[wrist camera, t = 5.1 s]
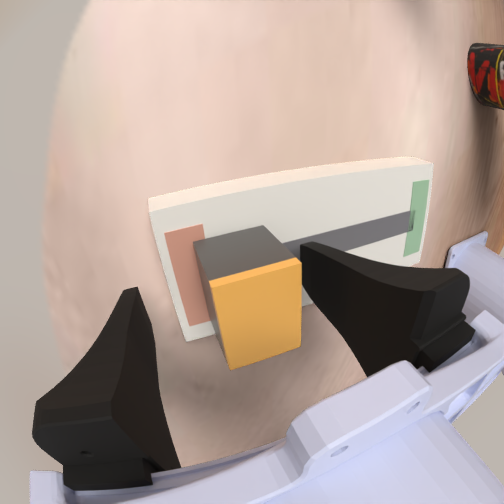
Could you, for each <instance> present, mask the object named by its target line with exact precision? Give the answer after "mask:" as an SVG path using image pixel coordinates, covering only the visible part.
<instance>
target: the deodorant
mask: <svg viewBox="0 0 504 504" xmlns="http://www.w3.org/2000/svg"><path fill="white" fill-rule="evenodd" d="M468 74H469V79H470V84H471V87H472V90H473V93H474V95H475V97H476V99H477V100H478V101H479V102H480V103H481V104H482V105H485V106H490V107H494V108H498V109H502V110H504V45H496V44H484V43H474V44H472V46H471V47H470V49H469V52H468Z"/></svg>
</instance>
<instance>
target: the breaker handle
mask: <svg viewBox="0 0 504 504" xmlns="http://www.w3.org/2000/svg"><path fill="white" fill-rule="evenodd" d="M193 246H194V250H195V255H196V260H197V265H198V269H199V274H200V278H201V283H202V287H203V292H204V296H205V300H206V305H207V309H208V313H209V317H210V320H211V323H212V325H213V328H214V331H215V333H216V336H217V339H218V341H219V344H220V346H221V349H222V351H223V354H224V356H225V359H226V361H227V364H228V366H229V369H230V370H233V369H236V368H240V367H243V366H246V365H249V364H252V363H255V362H258V361H261V360H264V359H267V358H270V357H273V356H276V355H279V354H282V353H284V352H287V351H290V350H293V349H295V348H298V347H301V309H302V263H301V262H300V261H299V260H298V259H297V258H296V257H295V256H294V255H293V254H292V253H291V252H290V251H289V250H288V249H287V248H286V247H285V246H284V245H283V244H282V243H281V242H280V241H279V240H278V239H277V238H276V237H275V236H274V235H273V234H272V233H271V232H270V231H269V230H268V229H267V228H266V227H265V226H264V225H261V226H257V227H252V228H248V229H244V230H240V231H235V232H231V233H227V234H223V235H219V236H215V237H210V238H206V239H202V240H198V241H194V242H193Z"/></svg>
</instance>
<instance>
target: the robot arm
mask: <svg viewBox="0 0 504 504" xmlns="http://www.w3.org/2000/svg"><path fill="white" fill-rule="evenodd" d="M487 236H488V232H486V231H483V232H481V233H479V234H477V235H475V236H473V237H471V238H469V239H467V240H464V241H462V242H460V243H458V244H456V245H453V246H452V247H451V248H450V250H449V253H448V257H447V261H446V265H445V268H414V267H406V266H398V265H392V264H387V263H382V262H378V261H374V260H370V259H367V258H363V257H360V256H357V255H353V254H350V253H347V252H344V251H341V250H339V249H336V248H333V247H330V246H327V245H324V244H321V243H317V242H313V241H311V242H307V243H304V244H300V262H301V263H302V286H303V288H304V289H305V291H306V292H307V294H308V296H309V297H310V299H311V300H312V301H313V302H314V303H315V305H316V306H317V307H318V308H319V309H320V311H321V312H322V313H323V314H324V315H325V316H326V317H327V319H328V320H329V321H330V322H331V323H332V324H333V326H334V327H335V328H336V329H337V330H338V332H339V333H340V334H341V335H342V337H343V338H344V340H345V341H346V343H347V344H348V346H349V347H350V349H351V350H352V352H353V353H354V355H355V357H356V358H357V360H358V362H359V363H360V365H361V367H362V369H363V370H364V372H365V374H366V376H367V378H365V379H364V380H362V381H360V382H358V383H356V384H354V385H352V386H350V387H348V388H346V389H344V390H341V391H339V392H337V393H335V394H333V395H331V396H329V397H326V398H324V399H322V400H320V401H318V402H317V403H315V404H313V405H311V406H310V407H308V408H306V409H305V410H303V411H302V412H301V413H300V414H299V415H298V416H297V417H295V418H294V419H293V420H292V422H291V424H290V426H289V428H288V431H287V433H286V437H285V438H282V439H279V440H277V441H274V442H271V443H268V444H265V445H263V446H260V447H257V448H254V449H251V450H248V451H244V452H241V453H238V454H235V455H231V456H228V457H224V458H221V459H217V460H213V461H209V462H205V463H201V464H197V465H193V466H188V467H183V468H181V465H180V462H179V460H178V457H177V454H176V451H175V448H174V445H173V442H172V438H171V435H170V432H169V428H168V425H167V421H166V417H165V413H164V409H163V405H162V401H161V397H160V390H159V382H158V372H157V360H156V347H155V340H154V335H153V330H152V324H151V322H150V319H149V317H148V314H147V311H146V309H145V306H144V304H143V301H142V298H141V295H140V293H139V290H138V287H134V288H130V289H126V290H124V291H123V292H122V294H121V296H120V298H119V300H118V302H117V304H116V306H115V308H114V310H113V312H112V314H111V315H110V317H109V319H108V321H107V323H106V325H105V326H104V328H103V330H102V331H101V333H100V335H99V336H98V338H97V339H96V341H95V342H94V344H93V345H92V347H91V348H90V349H89V351H88V352H87V353H86V355H85V356H84V357H83V358H82V359H81V360H80V362H79V363H78V364H77V365H76V366H75V367H74V369H73V370H72V371H71V372H70V373H69V374H68V375H67V376H66V377H65V378H64V379H63V380H62V381H61V382H60V383H58V384H57V385H56V386H55V387H54V388H53V389H51V390H50V391H49V392H48V393H46V394H45V395H44V396H43V397H41V398H40V399H39V400H37V401H36V406H35V412H34V420H33V430H32V435H33V439H34V441H35V442H36V444H37V445H38V446H39V447H40V448H41V449H42V450H44V451H45V452H46V453H48V454H49V455H50V456H51V457H53V458H54V459H55V460H57V461H58V462H59V463H61V464H62V465H63V473H61V472H57V471H40V470H38V471H37V470H31V471H30V504H504V486H503V485H502V484H501V482H500V481H499V480H498V479H497V478H496V476H495V475H494V474H493V473H492V471H491V470H490V469H489V468H488V467H487V466H486V464H485V463H484V462H483V461H482V459H481V458H480V457H479V456H478V455H477V453H476V452H475V451H474V450H473V449H472V448H471V446H470V445H469V444H468V443H467V442H466V441H465V440H464V438H463V437H462V436H461V435H460V434H459V433H458V431H457V430H456V429H455V428H454V427H453V426H452V425H451V424H452V423H453V422H454V421H455V420H456V419H457V418H458V417H459V416H460V415H461V414H462V413H463V412H464V411H465V410H466V409H467V408H468V407H469V406H470V405H471V404H472V403H473V402H474V401H475V400H476V399H477V398H478V397H479V396H480V395H481V394H482V393H483V391H485V390H486V388H487V387H488V386H489V385H490V384H491V383H492V382H493V381H494V380H495V379H496V378H497V376H498V375H499V373H500V372H501V371H502V373H503V375H504V258H502V257H501V256H499V255H498V254H496V253H495V252H493V251H491V250H490V249H488V248H486V247H485V244H486V240H487Z"/></svg>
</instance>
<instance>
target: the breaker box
mask: <svg viewBox="0 0 504 504" xmlns="http://www.w3.org/2000/svg"><path fill="white" fill-rule="evenodd" d="M433 166H434V163H431V162H428V161H425V160H422V159H419V158H415V157H412V156H406V157H393V158H382V159H371V160H361V161H352V162H344V163H335V164H327V165H320V166H313V167H305V168H299V169H292V170H285V171H279V172H273V173H267V174H261V175H255V176H250V177H244V178H239V179H234V180H228V181H223V182H218V183H213V184H208V185H204V186H199V187H194V188H190V189H185V190H181V191H176V192H172V193H168V194H163V195H159V196H155V197H151V198H148V207H149V215H150V219H151V223H152V227H153V231H154V235H155V239H156V243H157V247H158V251H159V255H160V258H161V262H162V266H163V269H164V273H165V276H166V280H167V283H168V287H169V290H170V293H171V297H172V300H173V303H174V306H175V310H176V313H177V316H178V319H179V322H180V325H181V328H182V331H183V334H184V337H185V340H186V342H188V341H192V340H195V339H199V338H203V337H206V336H210V335H213V334H216V333H215V331H214V328H213V325H212V323H211V320H210V317H209V313H208V309H207V305H206V300H205V296H204V292H203V287H202V283H201V278H200V274H199V269H198V265H197V260H196V255H195V250H194V246H193V242H194V241H198V240H202V239H206V238H210V237H215V236H219V235H223V234H227V233H231V232H235V231H240V230H244V229H248V228H252V227H257V226H261V225H264V226H265V227H266V228H267V229H268V230H269V231H270V232H271V233H272V234H273V235H274V236H275V237H276V238H277V239H278V240H279V241H280V242H281V243H282V244H283V245H284V246H285V247H286V248H287V249H288V250H289V251H290V252H291V253H292V254H293V255H294V256H295V257H296V258H297V259H298V260H299V261H300V244H304V243H307V242H311V241H313V242H317V243H321V244H324V245H327V246H330V247H333V248H336V249H339V250H341V251H344V252H347V253H350V254H353V255H357V256H360V257H363V258H367V259H370V260H374V261H378V262H382V263H387V264H392V265H398V266H406V267H409V266H411V265H414V264H416V263H418V262H420V257H421V252H422V247H423V242H424V236H425V231H426V224H427V218H428V211H429V204H430V196H431V187H432V177H433ZM312 303H314V302H313V301H312V300H311V299H310V297H309V296H308V294H307V292H306V291H305V289H304V288H303V286H302V307H303V306H306V305H309V304H312Z"/></svg>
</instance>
